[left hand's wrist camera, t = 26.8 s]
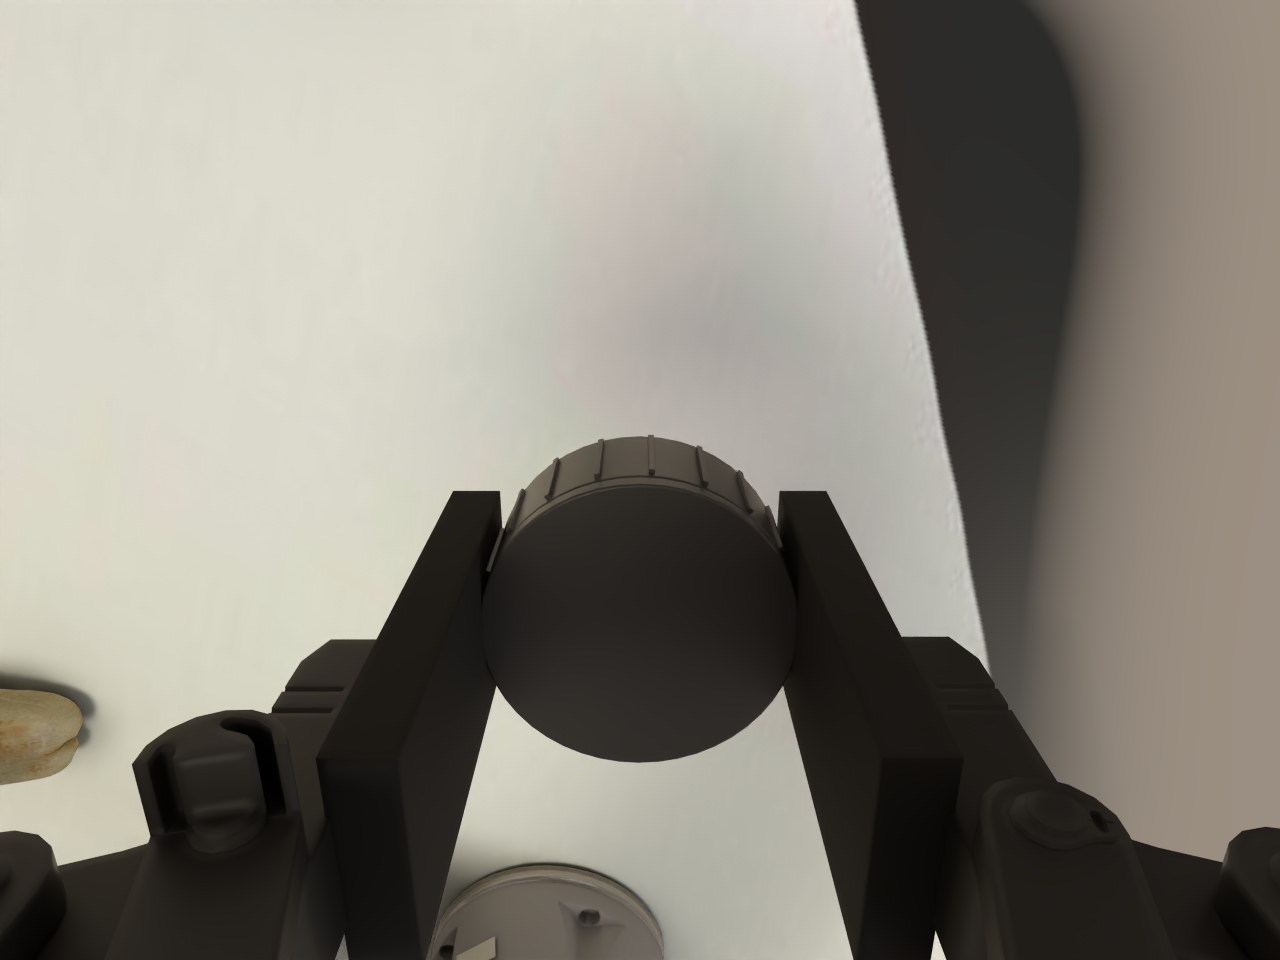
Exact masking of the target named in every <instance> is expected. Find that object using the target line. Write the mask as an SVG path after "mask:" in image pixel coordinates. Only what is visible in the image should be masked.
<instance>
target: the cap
mask: <svg viewBox="0 0 1280 960" xmlns="http://www.w3.org/2000/svg"><path fill="white" fill-rule="evenodd" d="M783 551H785V549H784V546H783V543H782V540H781V538H780V535H779V532H778V529H777V526H776V523H775V520H774V517H773V514H772V511H771V509H770V507H769V505H768V506H766V507H765V505H764V503H763V502H762V500H761V499H760V497H759V496H758V494H757V493H756V491H755V490H754V489H753V488H752V487H751V486H750V484H749V483H748V482H747V481H746V480H745V479H744V476H743V473H742V472H741V471H740V470H738V471H737V472H736V471H735V470H734V469H733V468H732V467H731V466H729V465H728V464H726V463H725V462H723V461H722V460H720V459H719V458H717V457H715V456H714V455H712V454H710V453H708V452H705V451H703V450H702V447H701V446H698V445H697V447H694V446H691V445H688V444H685V443H682V442H679V441H674V440H669V439H663V438H656V437H654V435H648V437H641V436H640V437H623V438H616V439H611V440H605V441H604V439H600V440H598V443H594V444H591V445H588V446H585V447H582V448H580V449H578V450H576V451H574V452H572V453H569V454H567V455H566V456H564V457H562V458H561V459H559V458H556V459H554V460H553V464H551V465H550V466H549V467H548V468H547V469H545V470H544V471H543V472H542V473H541V474H539V475H538V476H537V477H536V478H535V479H534V480H533V481H532V483H531V484H530V485H529V486H528V487H527V488H526V489H525V490H524V489H521V490H520V492H519V495H518V498H517V501H516V504H515V506H514V508H513V510H512V512H511V514H510V516H509V518H508V520H507V523H506V526H505V529H504V528H501V529H500V531H499V534H498V537H497V540H496V543H495V546H494V548H493V551H492V554H491V557H490V560H489V563H488V566H487V568H486V571H485V575H486V576H488V579H487V582H486V585H485V588H484V592H483V595H482V619H483V633H484V646H485V658H486V664H487V667H488V669H489V671H490V673H491V675H492V678H493V680H494V682H495V684H496V685H497V687H498V689H499V690H500V692H501V693H502V695H503V696H504V698H505V699H506V701H507V702H508V703H509V704H510V705H511V706H512V708H513V709H514V710H515V711H516V712H517V713H518V714H519V715H520V716H521V717H522V718H523V719H524V720H525V721H526V722H528V723H529V724H530V725H531V726H532V727H534V728H535V729H536V730H538V731H539V732H541V733H542V734H543V735H545V736H546V737H548V738H550V739H552V740H554V741H555V742H557V743H559V744H561V745H563V746H565V747H568V748H570V749H572V750H575V751H577V752H580V753H583V754H586V755H590V756H594V757H597V758H601V759H607V760H613V761H619V762H637V763H641V762H659V761H666V760H672V759H678V758H682V757H686V756H689V755H693V754H697V753H699V752H702V751H704V750H707V749H709V748H712V747H714V746H716V745H718V744H720V743H722V742H724V741H726V740H728V739H730V738H731V737H733V736H734V735H736V734H737V733H739V732H740V731H741V730H743V729H744V728H746V727H747V726H748V725H749V724H751V723H752V722H753V721H754V720H755V719H756V718H757V717H758V716H760V715H761V714H762V712H763V711H764V710H765V709H766V708H767V707H768V706H769V704H770V703H771V702H772V701H773V700H774V698H775V697H776V695H777V694H778V692H779V691H780V689H781V688H782V686H783V684H784V682H785V680H786V678H787V676H788V674H789V672H790V670H791V667H792V664H793V661H794V652H795V639H796V625H797V611H798V599H797V594H796V591H795V588H794V585H793V581H792V578H791V575H790V572H789V569H788V566H787V563H786V560H785V557H784V554H783Z"/></svg>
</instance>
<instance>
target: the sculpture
mask: <svg viewBox="0 0 1280 960" xmlns="http://www.w3.org/2000/svg"><path fill="white" fill-rule="evenodd" d="M82 721H83V718H82V714H81V711H80V709H79V707H78V706H77V705H76V704H75V703H74V702H72V701H71V700H69V699H67V698H65V697H63V696H61V695H58V694H55V693H50V692H43V691H34V690H9V689H0V785H4V784H11V783H18V782H24V781H30V780H35V779H41V778H45V777H48V776H51V775H54V774H56V773H58V772H60V771H61V770H63V769H64V768H65V767H67V766H68V765H69V763H70V762H71V760H72V758H73V756H74V753H75V751H76V749H77V747H78V745H79V740H78V738H77V737H76V735H77V734H78V732H79V730H80V728H81V725H82Z"/></svg>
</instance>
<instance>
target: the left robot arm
mask: <svg viewBox="0 0 1280 960" xmlns="http://www.w3.org/2000/svg"><path fill="white" fill-rule="evenodd" d="M501 528H502V517H501V501H500V491H453V492H452V494H451V496H450V498H449V500H448V502H447V504H446V506H445V508H444V510H443V512H442V514H441V516H440V518H439V520H438V522H437V523H436V525H435V527H434V529H433V531H432V533H431V535H430V537H429V539H428V541H427V543H426V545H425V547H424V549H423V551H422V553H421V554H420V556H419V558H418V560H417V562H416V564H415V566H414V568H413V570H412V572H411V574H410V576H409V578H408V580H407V582H406V584H405V585H404V587H403V589H402V591H401V593H400V595H399V597H398V599H397V601H396V603H395V605H394V607H393V609H392V611H391V613H390V615H389V617H388V618H387V620H386V622H385V624H384V626H383V628H382V630H381V632H380V634H379V636H378V638H377V640H330V641H328V642H327V643H326V644H324V645H323V646H321V647H320V648H319V649H317V650H316V651H315V652H313V653H312V654H311V655H309V656H308V657H307V658H305V659H304V660H303V661H301V663H300V664H299V666H298V667H297V669H296V671H295V672H294V674H293V675H292V677H291V678H290V680H289V682H288V683H287V685H286V686H285V692H282V693H281V694H280V696H279V697H278V699H277V700H276V702H275V704H274V705H273V707H272V713H268V714H266V713H262V712H258V711H255V710H225V711H221V712H217V713H212V714H208V715H204V716H199V717H196V718H193V719H191V720H189V721H187V722H184V723H182V724H180V725H178V726H175V727H173V728H171V729H169V730H167V731H166V732H164V733H163V734H162V735H160V736H159V737H157V738H156V739H155V740H153V741H152V742H151V743H149V744H148V745H146V746H145V748H144V749H143V750H142V752H141V753H140V754H139V756H138V757H137V758H136V760H135V761H134V762H133V764H132V767H133V771H134V775H135V778H136V782H137V786H138V790H139V794H140V798H141V801H142V805H143V809H144V813H145V817H146V821H147V824H148V828H149V832H150V836H151V837H150V840H149V842H148V843H147V844H144V845H141V846H138V847H134V848H131V849H128V850H125V851H121V852H116V853H112V854H108V855H103V856H99V857H95V858H90V859H86V860H82V861H78V862H73V863H69V864H65V865H60V866H57V863H56V860H55V856H54V853H53V850H52V847H51V846H50V845H49V844H48V843H47V842H46V841H45V840H44V839H42V838H41V837H40V836H39V835H37V834H31V833H25V832H20V831H8V832H0V960H335V957H336V955H337V952H338V949H339V947H340V944H341V941H342V938H343V936H344V933H345V939H346V945H347V952H348V958H349V960H426V957H427V953H428V949H429V945H430V941H431V938H432V934H433V930H434V926H435V922H436V918H437V914H438V910H439V906H440V903H441V899H442V895H443V891H444V887H445V883H446V879H447V875H448V872H449V868H450V864H451V860H452V856H453V852H454V848H455V844H456V840H457V837H458V833H459V829H460V825H461V821H462V817H463V813H464V809H465V805H466V802H467V798H468V794H469V790H470V786H471V782H472V778H473V774H474V771H475V767H476V763H477V759H478V755H479V751H480V747H481V743H482V739H483V736H484V732H485V728H486V724H487V720H488V716H489V712H490V708H491V704H492V701H493V697H494V693H495V689H496V684H495V682H494V680H493V678H492V675H491V673H490V671H489V669H488V667H487V664H486V658H485V646H484V633H483V619H482V595H483V592H484V588H485V585H486V582H487V579H488V576H486V575H485V571H486V568H487V566H488V563H489V560H490V557H491V554H492V551H493V548H494V546H495V543H496V540H497V537H498V534H499V531H500V529H501ZM777 529H778V532H779V535H780V538H781V540H782V543H783V546H784V549H785V551H783V554H784V557H785V560H786V563H787V566H788V569H789V572H790V575H791V578H792V581H793V585H794V588H795V591H796V594H797V599H798V611H797V625H796V639H795V652H794V661H793V664H792V667H791V670H790V672H789V674H788V676H787V678H786V680H785V682H784V684H783V687H784V691H785V695H786V699H787V703H788V707H789V710H790V714H791V718H792V722H793V726H794V730H795V734H796V738H797V742H798V745H799V749H800V753H801V757H802V761H803V765H804V769H805V773H806V776H807V780H808V784H809V788H810V792H811V796H812V800H813V804H814V808H815V811H816V815H817V819H818V823H819V827H820V831H821V835H822V839H823V843H824V846H825V850H826V854H827V858H828V862H829V866H830V870H831V874H832V878H833V881H834V885H835V889H836V893H837V897H838V901H839V905H840V909H841V913H842V916H843V920H844V924H845V928H846V932H847V936H848V940H849V944H850V947H851V951H852V955H853V959H854V960H931V954H932V948H933V942H934V936H935V930H936V933H937V936H938V938H939V941H940V944H941V946H942V949H943V952H944V955H945V957H946V960H1280V829H1279V828H1271V827H1262V828H1256V829H1251V830H1245V831H1242V832H1241V833H1239V834H1238V835H1237V836H1236V837H1235V838H1234V839H1233V840H1232V841H1230V842H1229V845H1228V848H1227V851H1226V854H1225V857H1224V860H1223V862H1218V861H1214V860H1209V859H1205V858H1201V857H1197V856H1192V855H1188V854H1183V853H1179V852H1175V851H1170V850H1166V849H1162V848H1157V847H1154V846H1151V845H1147V844H1144V843H1141V842H1137V841H1134V840H1132V839H1131V838H1130V836H1129V834H1128V832H1127V831H1126V829H1125V828H1124V826H1123V825H1122V823H1121V822H1120V820H1119V819H1118V817H1117V816H1116V815H1115V814H1114V813H1113V812H1112V811H1110V810H1109V809H1108V808H1107V807H1105V806H1104V805H1103V804H1102V803H1101V802H1099V801H1098V800H1097V799H1096V798H1094V797H1092V796H1090V795H1088V794H1086V793H1084V792H1082V791H1080V790H1078V789H1076V788H1074V787H1072V786H1070V785H1067V784H1064V783H1060V782H1057V780H1056V779H1055V777H1054V776H1053V774H1052V773H1051V771H1050V769H1049V768H1048V766H1047V765H1046V763H1045V762H1044V760H1043V759H1042V757H1041V756H1040V754H1039V752H1038V751H1037V749H1036V748H1035V746H1034V745H1033V743H1032V741H1031V740H1030V738H1029V737H1028V735H1027V734H1026V732H1025V730H1024V729H1023V727H1022V726H1021V724H1020V723H1019V721H1018V720H1017V718H1016V716H1015V715H1014V713H1013V712H1012V710H1008V704H1007V702H1006V701H1005V699H1004V698H1003V696H1002V695H1001V693H1000V691H999V690H998V689H995V684H994V682H993V680H992V679H991V677H990V676H989V674H988V673H987V671H986V670H985V668H984V666H983V665H982V663H981V662H980V660H979V659H978V658H977V657H976V656H974V655H973V654H972V653H970V652H969V651H968V650H966V649H965V648H963V647H962V646H961V645H959V644H958V643H957V642H955V641H954V640H953V639H951V638H950V637H901V635H900V633H899V631H898V629H897V627H896V625H895V623H894V622H893V620H892V618H891V616H890V614H889V612H888V610H887V608H886V606H885V604H884V602H883V600H882V598H881V596H880V594H879V592H878V591H877V589H876V587H875V585H874V583H873V581H872V579H871V577H870V575H869V573H868V571H867V569H866V567H865V565H864V563H863V561H862V559H861V558H860V556H859V554H858V552H857V550H856V548H855V546H854V544H853V542H852V540H851V538H850V536H849V534H848V532H847V530H846V528H845V527H844V525H843V523H842V521H841V519H840V517H839V515H838V513H837V511H836V509H835V507H834V505H833V503H832V501H831V499H830V497H829V495H828V494H827V492H826V491H780V492H779V508H778V524H777ZM431 960H664V950H663V941H662V937H661V933H660V930H659V928H658V925H657V923H656V921H655V919H654V918H653V916H652V915H651V913H650V912H649V910H648V909H647V908H646V907H645V906H644V904H643V903H642V902H641V901H640V900H639V899H638V898H637V897H635V896H634V895H633V894H632V893H630V892H629V891H628V890H627V889H625V888H623V887H622V886H620V885H619V884H617V883H615V882H613V881H611V880H609V879H607V878H605V877H602V876H600V875H598V874H595V873H592V872H588V871H585V870H581V869H577V868H571V867H565V866H554V865H537V866H526V867H518V868H514V869H509V870H505V871H502V872H499V873H496V874H493V875H491V876H488V877H486V878H484V879H482V880H480V881H478V882H476V883H475V884H473V885H472V886H470V887H468V888H467V889H466V890H465V891H463V892H462V893H461V894H460V895H459V896H458V897H457V898H456V899H455V900H454V901H453V902H452V903H451V904H450V905H449V907H448V908H447V910H446V911H445V913H444V914H443V916H442V918H441V920H440V922H439V925H438V929H437V932H436V936H435V940H434V944H433V948H432V953H431Z"/></svg>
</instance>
